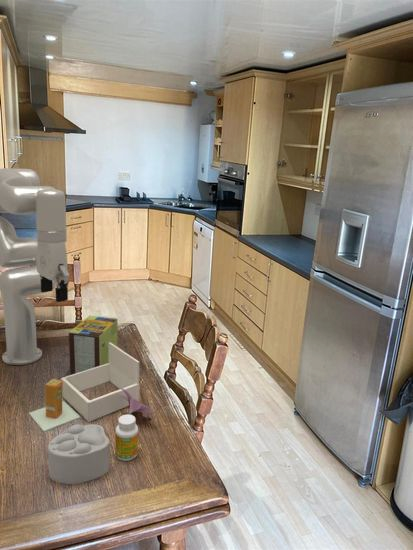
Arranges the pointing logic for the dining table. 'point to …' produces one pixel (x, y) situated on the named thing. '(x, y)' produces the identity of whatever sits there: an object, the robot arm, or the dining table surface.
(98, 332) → the protein box
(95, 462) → the lumpy-topped squat cylinder
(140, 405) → the lily
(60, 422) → the mat
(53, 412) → the supplement box
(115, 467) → the dining table surface
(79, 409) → the carton
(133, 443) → the supplement bottle
